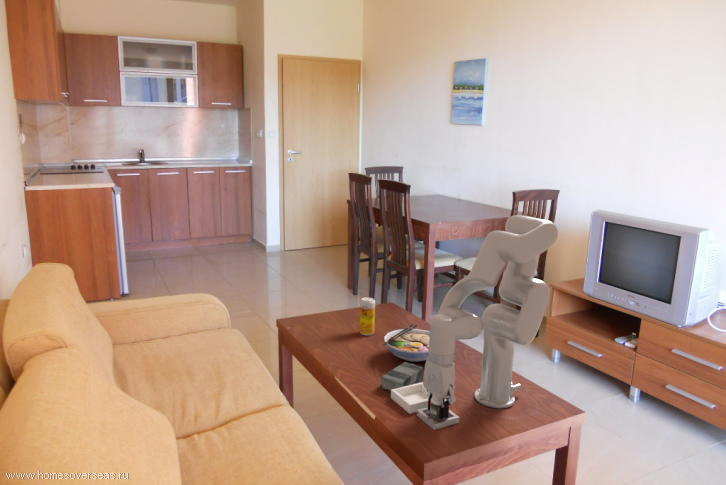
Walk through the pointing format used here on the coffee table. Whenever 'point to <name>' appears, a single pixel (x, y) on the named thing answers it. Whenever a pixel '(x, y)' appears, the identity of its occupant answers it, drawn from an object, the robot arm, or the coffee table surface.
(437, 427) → the square open frame
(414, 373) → the stone block
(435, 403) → the pill bottle
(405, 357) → the ramen bowl
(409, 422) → the coffee table surface
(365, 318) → the glass of beer
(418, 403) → the tray
